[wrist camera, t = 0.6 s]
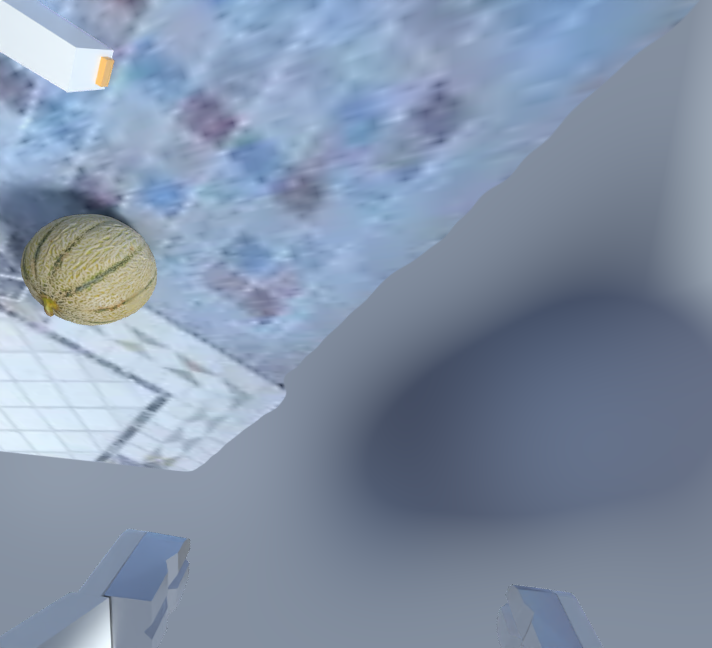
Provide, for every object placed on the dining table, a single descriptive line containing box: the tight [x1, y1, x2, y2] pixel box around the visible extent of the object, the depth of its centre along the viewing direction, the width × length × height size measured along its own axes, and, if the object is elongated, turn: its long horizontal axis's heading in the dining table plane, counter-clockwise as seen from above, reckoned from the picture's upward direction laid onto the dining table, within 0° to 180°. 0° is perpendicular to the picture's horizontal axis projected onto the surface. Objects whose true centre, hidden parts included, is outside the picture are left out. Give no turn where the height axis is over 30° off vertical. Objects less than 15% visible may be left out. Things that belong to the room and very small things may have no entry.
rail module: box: [0, 0, 114, 92], centre depth 40 cm, size 4×9×7 cm, turn 57°
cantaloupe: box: [21, 214, 157, 325], centre depth 50 cm, size 15×15×15 cm
